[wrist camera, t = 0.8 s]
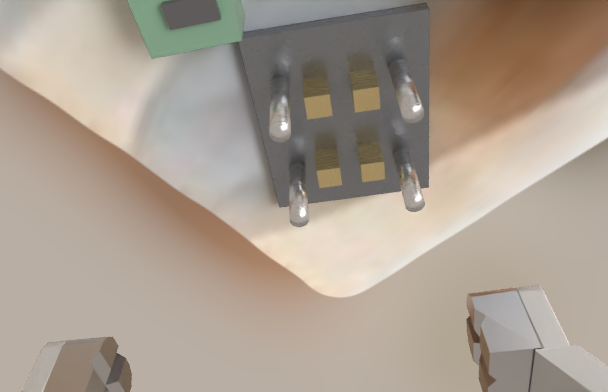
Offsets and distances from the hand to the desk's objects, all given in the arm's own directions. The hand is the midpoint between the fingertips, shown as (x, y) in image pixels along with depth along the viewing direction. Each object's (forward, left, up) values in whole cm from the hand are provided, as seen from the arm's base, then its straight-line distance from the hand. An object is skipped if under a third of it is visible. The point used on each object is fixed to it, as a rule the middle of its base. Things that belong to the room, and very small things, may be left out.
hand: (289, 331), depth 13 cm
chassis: (+14, +2, -29) cm, 32 cm away
